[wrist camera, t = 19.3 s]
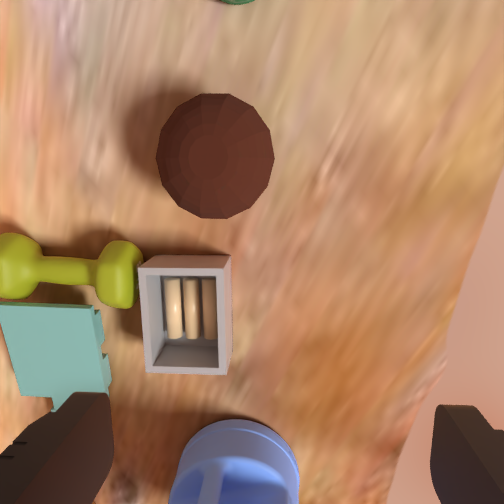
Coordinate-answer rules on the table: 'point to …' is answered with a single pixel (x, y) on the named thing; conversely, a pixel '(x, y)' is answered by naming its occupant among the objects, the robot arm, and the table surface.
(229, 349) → the tub
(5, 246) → the dumbbell
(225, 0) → the beverage can
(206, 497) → the water jug
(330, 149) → the table surface
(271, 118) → the table surface
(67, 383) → the teal flat paddle shape
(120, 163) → the table surface
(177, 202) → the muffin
